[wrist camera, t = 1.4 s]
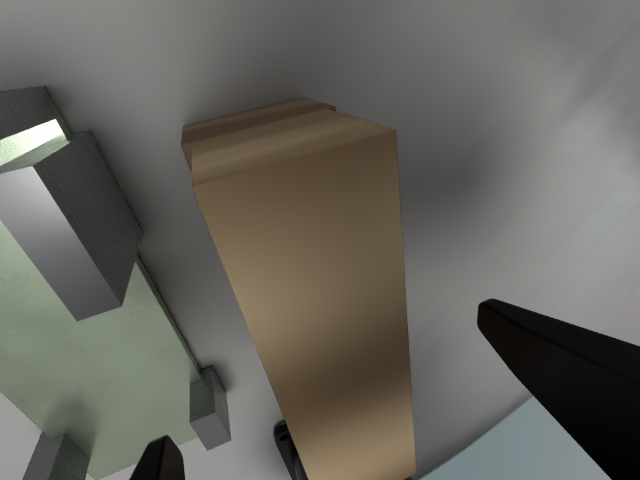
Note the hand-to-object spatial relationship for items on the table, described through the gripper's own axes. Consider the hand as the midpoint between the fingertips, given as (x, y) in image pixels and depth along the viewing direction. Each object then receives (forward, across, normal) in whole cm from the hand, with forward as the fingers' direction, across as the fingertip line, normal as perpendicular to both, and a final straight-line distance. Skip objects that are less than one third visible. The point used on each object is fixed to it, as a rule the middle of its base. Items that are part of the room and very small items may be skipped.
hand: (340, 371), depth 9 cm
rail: (+3, 0, 0) cm, 3 cm away
